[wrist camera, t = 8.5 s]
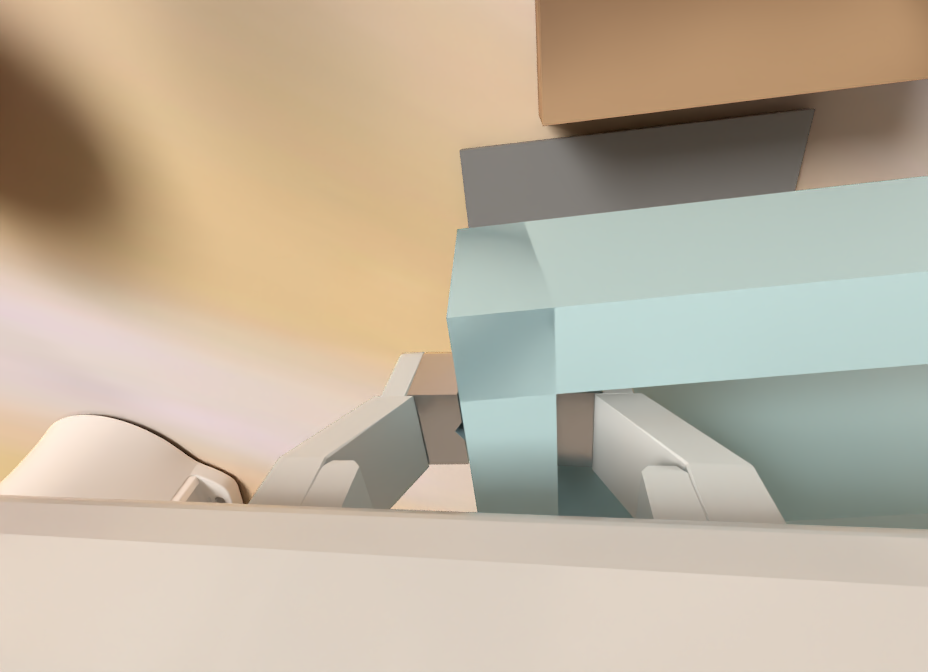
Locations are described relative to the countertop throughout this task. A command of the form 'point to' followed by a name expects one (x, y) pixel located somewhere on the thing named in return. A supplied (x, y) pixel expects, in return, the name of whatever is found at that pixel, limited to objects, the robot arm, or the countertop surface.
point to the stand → (717, 52)
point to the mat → (635, 168)
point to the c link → (708, 345)
